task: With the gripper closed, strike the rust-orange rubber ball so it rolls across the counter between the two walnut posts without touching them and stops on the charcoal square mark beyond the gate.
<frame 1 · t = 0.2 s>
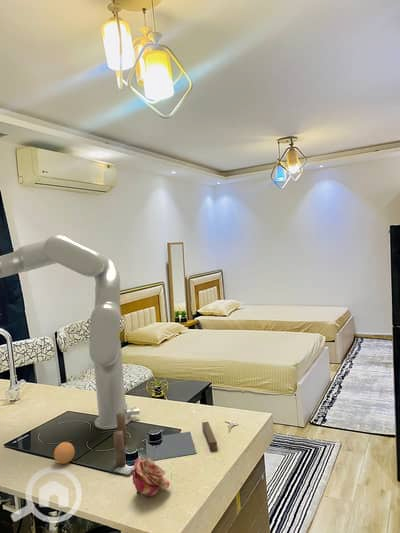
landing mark: (169, 445, 117), on the worktop
far post: (123, 443, 121), on the worktop
ball: (64, 452, 112), on the worktop
near post: (121, 464, 108), on the worktop
flower: (152, 494, 94), on the worktop
brown wooden bar: (209, 439, 119), on the worktop
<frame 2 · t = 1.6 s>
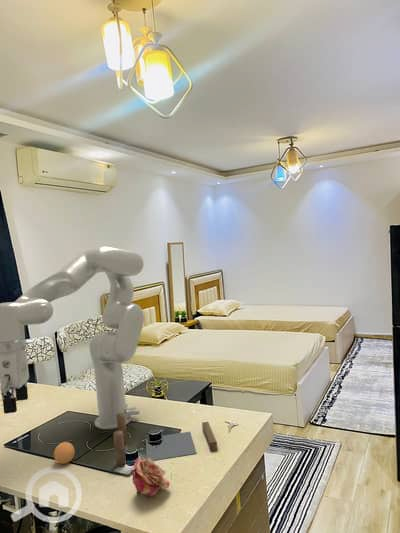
hand: (16, 405, 112), 17 cm above the worktop, tool pointing down, fingers open, 9 cm apart
nothing on the worktop moved.
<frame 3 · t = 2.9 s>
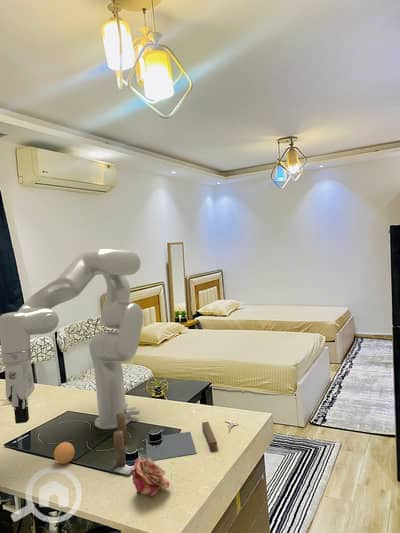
hand: (22, 421, 110), 14 cm above the worktop, tool pointing down, fingers closed
nothing on the worktop moved.
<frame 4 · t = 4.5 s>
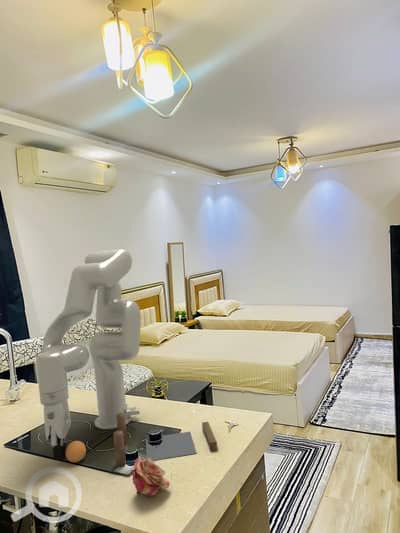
hand: (60, 458, 112), 1 cm above the worktop, tool pointing down, fingers closed
ball: (75, 451, 112), on the worktop
everything else where it was.
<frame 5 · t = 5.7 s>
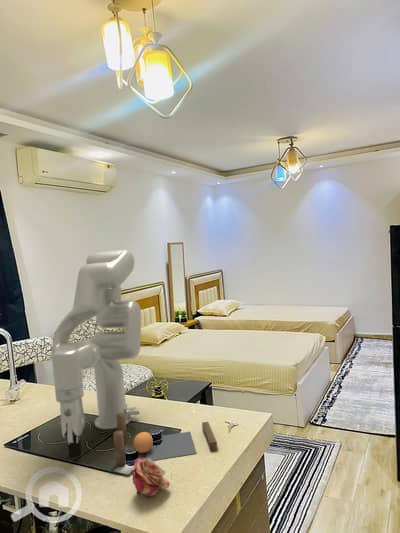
hand: (75, 455, 113), 2 cm above the worktop, tool pointing down, fingers closed
ball: (143, 442, 115), on the worktop
everything else where it was.
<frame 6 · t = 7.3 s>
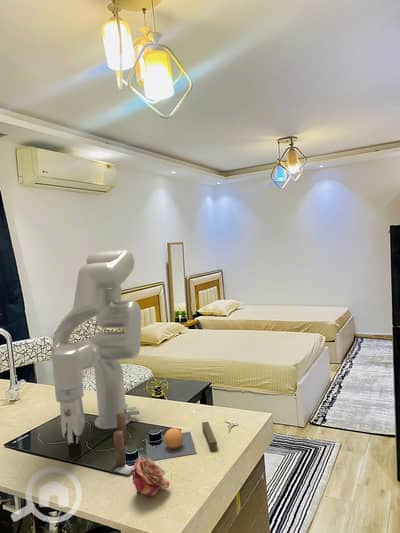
hand: (75, 455, 113), 2 cm above the worktop, tool pointing down, fingers closed
ball: (173, 438, 115), on the worktop
everything else where it was.
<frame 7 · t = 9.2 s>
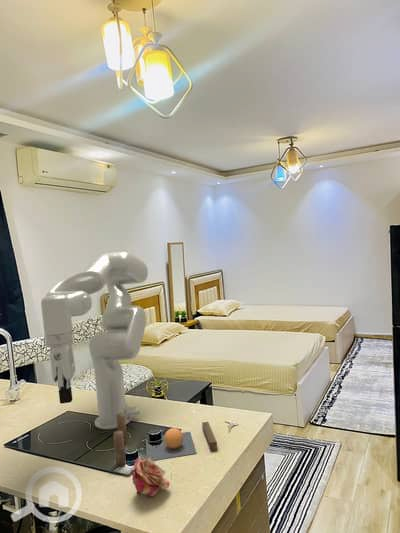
hand: (66, 401, 112), 17 cm above the worktop, tool pointing down, fingers closed
nothing on the worktop moved.
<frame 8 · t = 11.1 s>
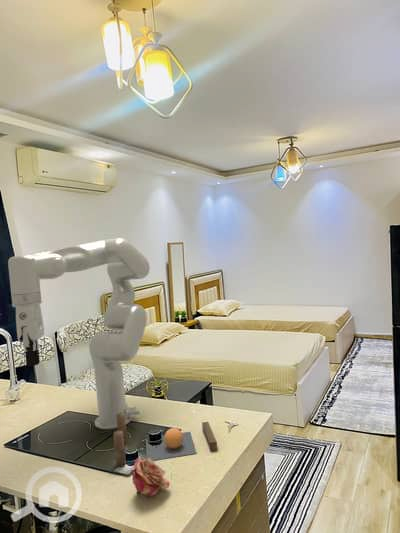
hand: (33, 364, 110), 29 cm above the worktop, tool pointing down, fingers closed
nothing on the worktop moved.
at the end: ball 1.9 cm from the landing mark (horizontally); ball never touched near post; ball never touched far post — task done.
